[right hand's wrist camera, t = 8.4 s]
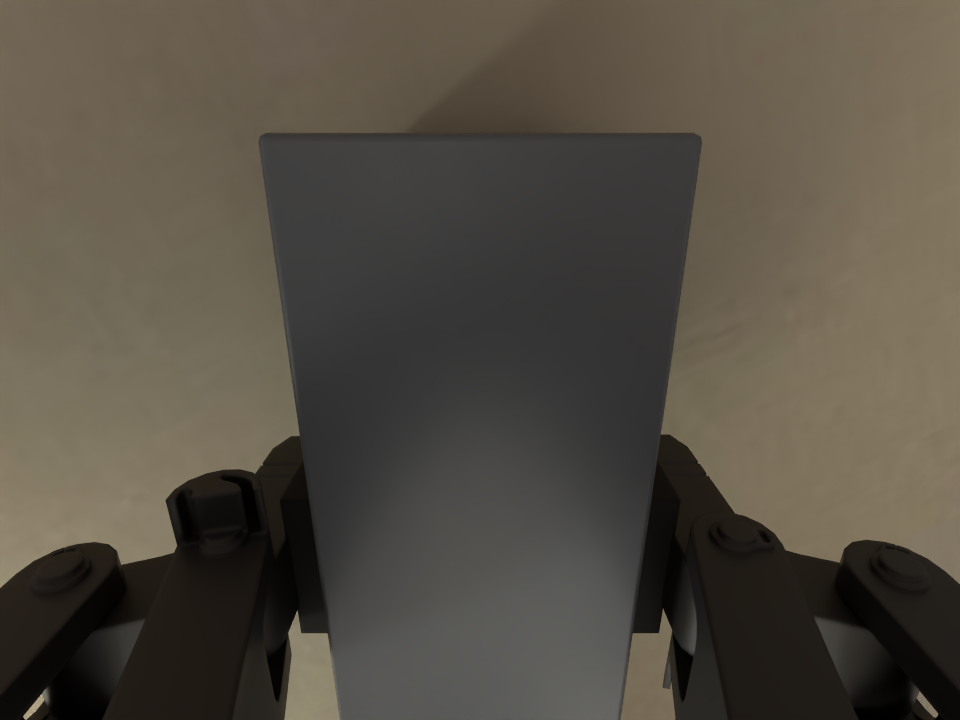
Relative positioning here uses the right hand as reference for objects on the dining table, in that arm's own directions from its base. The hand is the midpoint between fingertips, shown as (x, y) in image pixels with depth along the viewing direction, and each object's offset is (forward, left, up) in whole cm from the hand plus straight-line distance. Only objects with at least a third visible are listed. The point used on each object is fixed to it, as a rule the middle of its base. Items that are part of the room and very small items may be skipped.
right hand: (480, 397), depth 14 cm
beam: (-18, -4, -1) cm, 19 cm away
